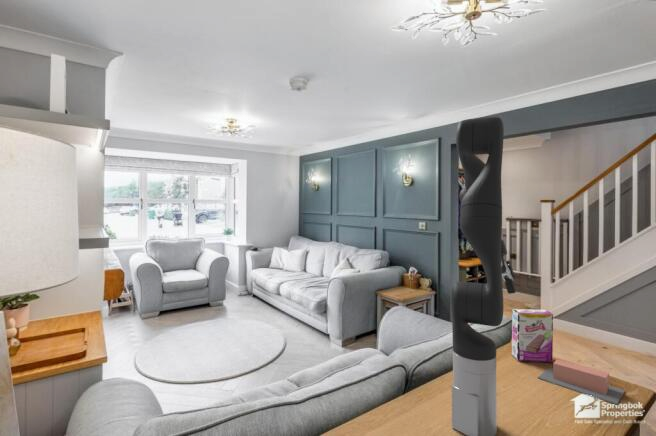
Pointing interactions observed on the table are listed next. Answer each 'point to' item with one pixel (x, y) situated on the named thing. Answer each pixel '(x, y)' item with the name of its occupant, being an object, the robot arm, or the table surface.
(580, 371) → the block
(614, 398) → the mat
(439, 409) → the table surface
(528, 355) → the candy bar box
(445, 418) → the table surface
